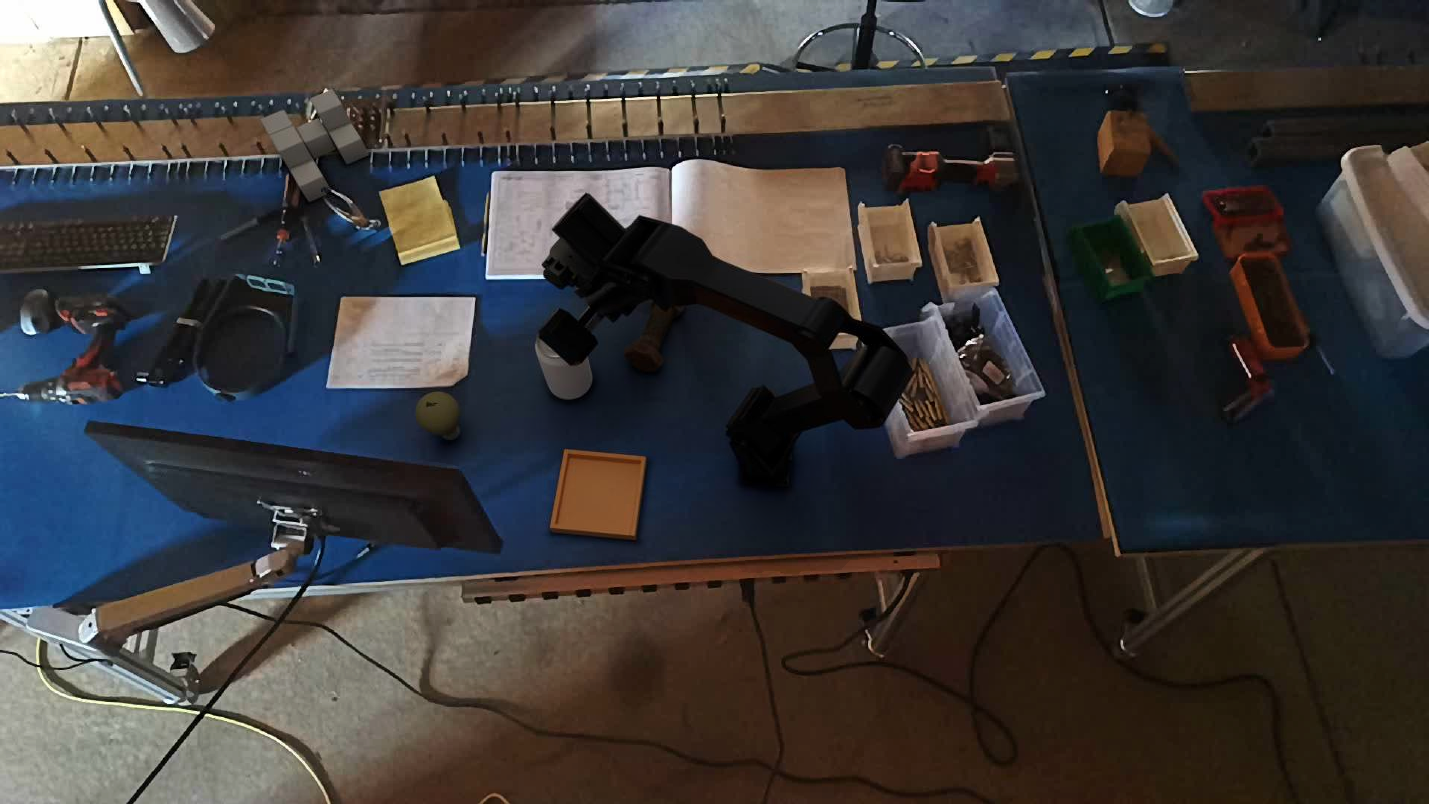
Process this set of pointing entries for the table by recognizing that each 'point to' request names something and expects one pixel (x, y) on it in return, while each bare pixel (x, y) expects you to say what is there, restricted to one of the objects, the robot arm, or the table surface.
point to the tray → (599, 494)
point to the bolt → (651, 339)
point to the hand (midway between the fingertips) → (580, 307)
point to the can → (563, 373)
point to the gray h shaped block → (314, 141)
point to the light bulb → (439, 414)
